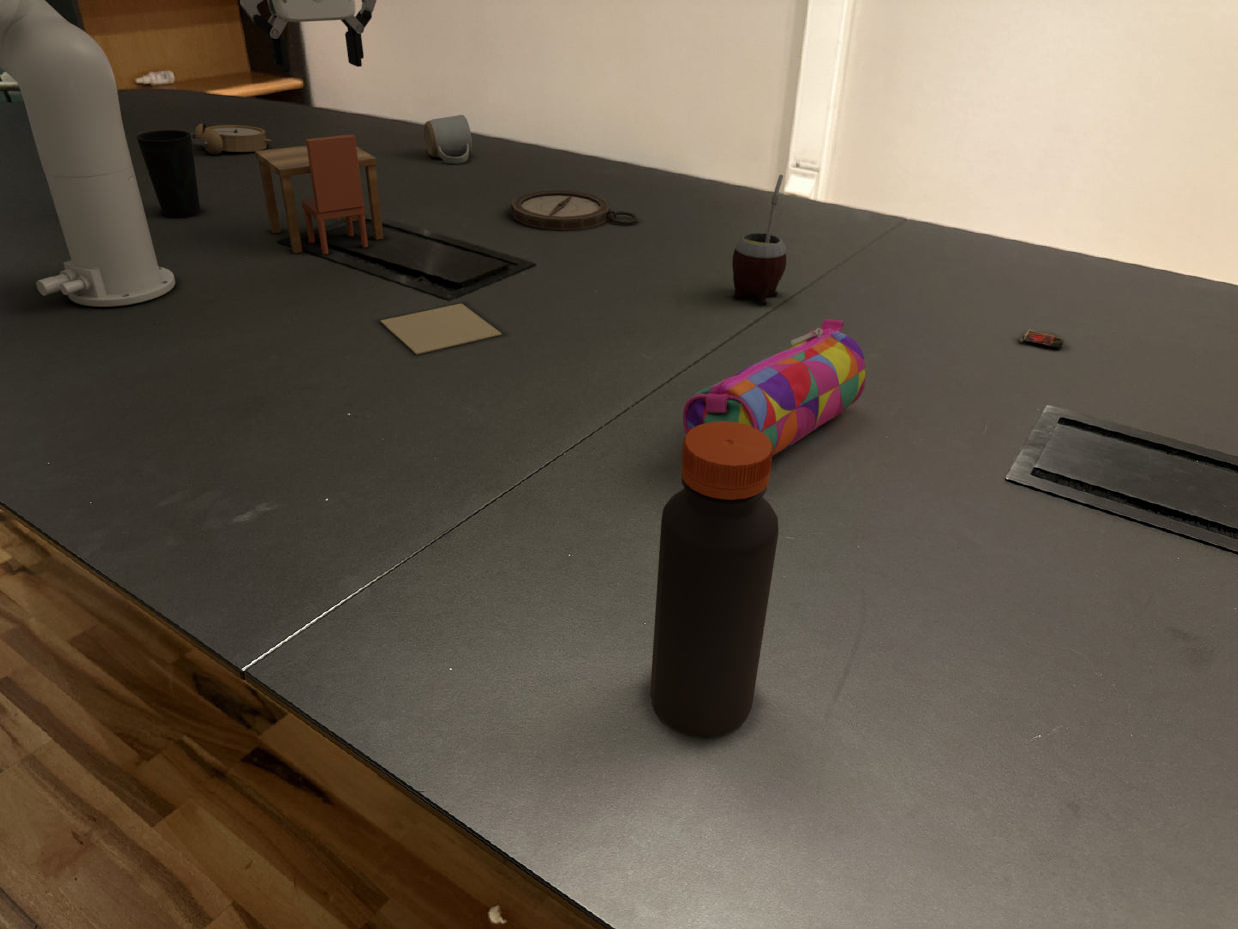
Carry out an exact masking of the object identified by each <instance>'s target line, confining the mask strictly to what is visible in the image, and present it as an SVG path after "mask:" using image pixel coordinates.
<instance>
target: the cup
mask: <svg viewBox="0 0 1238 929" xmlns="http://www.w3.org/2000/svg"><path fill="white" fill-rule="evenodd" d="M191 134H192V133H190V132H189V131H185V130H179V129H176V130H175V129H160V130H153V131H147V132H146V131H145V132H142V133H140V134H137V136H136V140H137V143H138V146H139V149H140V152H141V154H142V158H143V161H144V163H145V164H144V165H145V166H146V169H147V172H148V176H149V177H150V178H149V179H150V181H151V183H152V187H153V190H154V192H155V195H156V198H157V201H158V204H159V207H160V209H161V213H162V215H163V216H164V217H166V218H171V219H172V218H175V219H182V218H190V217H194V216H196V215H198V214H200V213H201V206H200V198H199V189H198V181H197V174H196V167H195V164H196V163H195V159H194V158H195V157H194V148H193V144H192V139H191Z"/></svg>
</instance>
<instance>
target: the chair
mask: <svg viewBox="0 0 1238 929" xmlns="http://www.w3.org/2000/svg"><path fill="white" fill-rule="evenodd" d="M356 140H357V139H356V136H355V135H354V134H344V135H335V136H324V137H314V138H313V137H312V138H306V139H305V146H307V153H308V159H309V166H310V173H309V174H310V179H311V185H312V192H313V198H308V199H301V208H302V209H303V213H304V220H305V226H306V234H307V239H308V243H309V244H310V243H311V244H313V243H316V238H315V231H314V226H313V219H312V218H314V219H315V220H316V222H317V223H316V224H317V228H318V235H319V242H320V249H321V254H322V255H328V254H329V246H328V240H327V232H326V227H325V221H326V220H332V219H333V220H334V219H339V218H340V219H341V218H344V219H345V225H346V234H347V237H354V236H355V234H354V227H353V221H352V218H351V216H354V215H358V219H359V221H358V226H359V235H360V242H361V247H362V248H363V249H366V248H368V247H369V242H368V235H367V234H368V233H367V226H366V218H365V215H366V208H365V205H364V198H363V188H362V180H361V173H360V167H359V164H358V155H357V147H358V146H357V141H356Z"/></svg>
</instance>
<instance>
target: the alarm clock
mask: <svg viewBox="0 0 1238 929" xmlns="http://www.w3.org/2000/svg"><path fill="white" fill-rule="evenodd" d="M190 134H191V139H192V145H197V146H199V147H200V148H202V149H204V151H206V152H207V153H209V154H211V155H220V154H221V153H222V152H232V153H233V152H235V153H249V152H255V151H262V150H266V149H267V146H268V145H267V143H271V142H272V139H269V138H266V130H265V129H263V128H260V127H257V126H251V125H239V124H223V125H222V124H219V125H218V124H217V125H212V126H207V125H206V124H205V123H199V124H198V125H197V126H196V127H195V130H194V132H193V133H190Z"/></svg>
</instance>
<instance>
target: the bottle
mask: <svg viewBox="0 0 1238 929" xmlns="http://www.w3.org/2000/svg"><path fill="white" fill-rule="evenodd" d="M770 441H771V440H769V438H768V437H767V436H766V435H765V434H763V433H762V432H761V431H759V430H758V429H755V428H753V427H751V426H748V425H745V424H740V423H736V422H726V421H719V422H709V423H705V424H701V425H698V426H696V427H695V428H693V429H691V430H689V432H687V434H685V435H684V437H683V443H682V454H681V455H682V457H681V470H680V471H681V473H680V475H681V484H682V486H683V488H682V489H681V490H680V491H678V492H676V493H674V494H673V495H672V496H671V497H670V498H669V500H668V501H667V502H666V503H665V505H664V506H663V509H662V515H661V521H660V535H659V536H660V537H659V551H658V566H657V582H656V594H655V595H656V598H655V612H654V628H653V640H652V641H653V642H652V656H651V658H652V659H651V672H650V673H651V674H650V690H649V697H650V701H651V705H652V707H653V711H654V713H655V714H656V715H657V716H658V718H659V719H660V720H661V721H662V723H664V724H666V725H667V726H668V727H670V728H671V729H672V730H674V731H676V732H678V733H681V734H684V735H687V736H689V737H696V738H703V739H704V738H705V739H707V738H708V739H709V738H717V737H723V736H724V735H727V734H729V733H732V732H734V731H736V730H737V729H738V728H739V727H741V726H742V725H743V724H744V723H745V722H746V721H747V719H748V717H749V715H750V713H751V711H752V708H753V703H754V696H755V690H756V689H755V688H756V684H757V677H758V671H759V664H760V658H761V657H760V656H761V650H762V645H763V637H764V630H765V624H766V617H767V611H768V604H769V597H770V592H771V585H772V579H773V578H772V577H773V571H774V565H775V558H776V551H777V546H778V545H777V544H778V538H779V518H778V515H777V514H776V512H775V510H774V508H773V507H772V505H771V504H770V502H769V501H767V500H766V499H765V498H764V495H765V493H766V492H767V490H768V485H769V482H770V475H771V470H772V469H771V468H772V462H773V457H772V455H773V446H772V445H773V444H772V442H770Z"/></svg>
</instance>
